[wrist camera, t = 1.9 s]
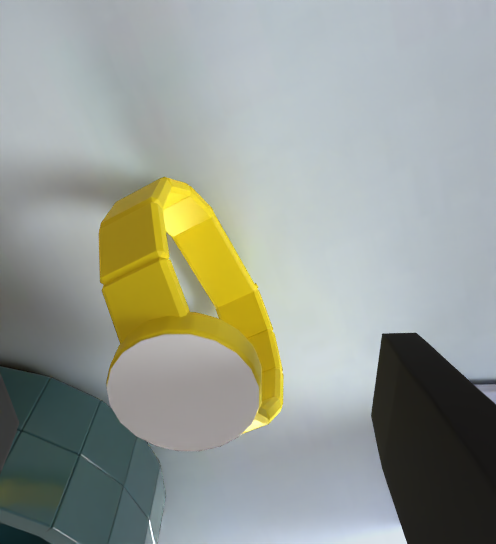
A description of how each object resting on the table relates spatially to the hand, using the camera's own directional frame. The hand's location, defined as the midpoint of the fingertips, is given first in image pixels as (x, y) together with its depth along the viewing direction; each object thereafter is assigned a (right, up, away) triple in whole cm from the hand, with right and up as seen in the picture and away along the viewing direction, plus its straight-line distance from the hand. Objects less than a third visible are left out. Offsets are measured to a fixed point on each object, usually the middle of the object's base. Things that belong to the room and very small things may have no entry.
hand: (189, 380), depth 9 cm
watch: (0, +3, +5) cm, 6 cm away
